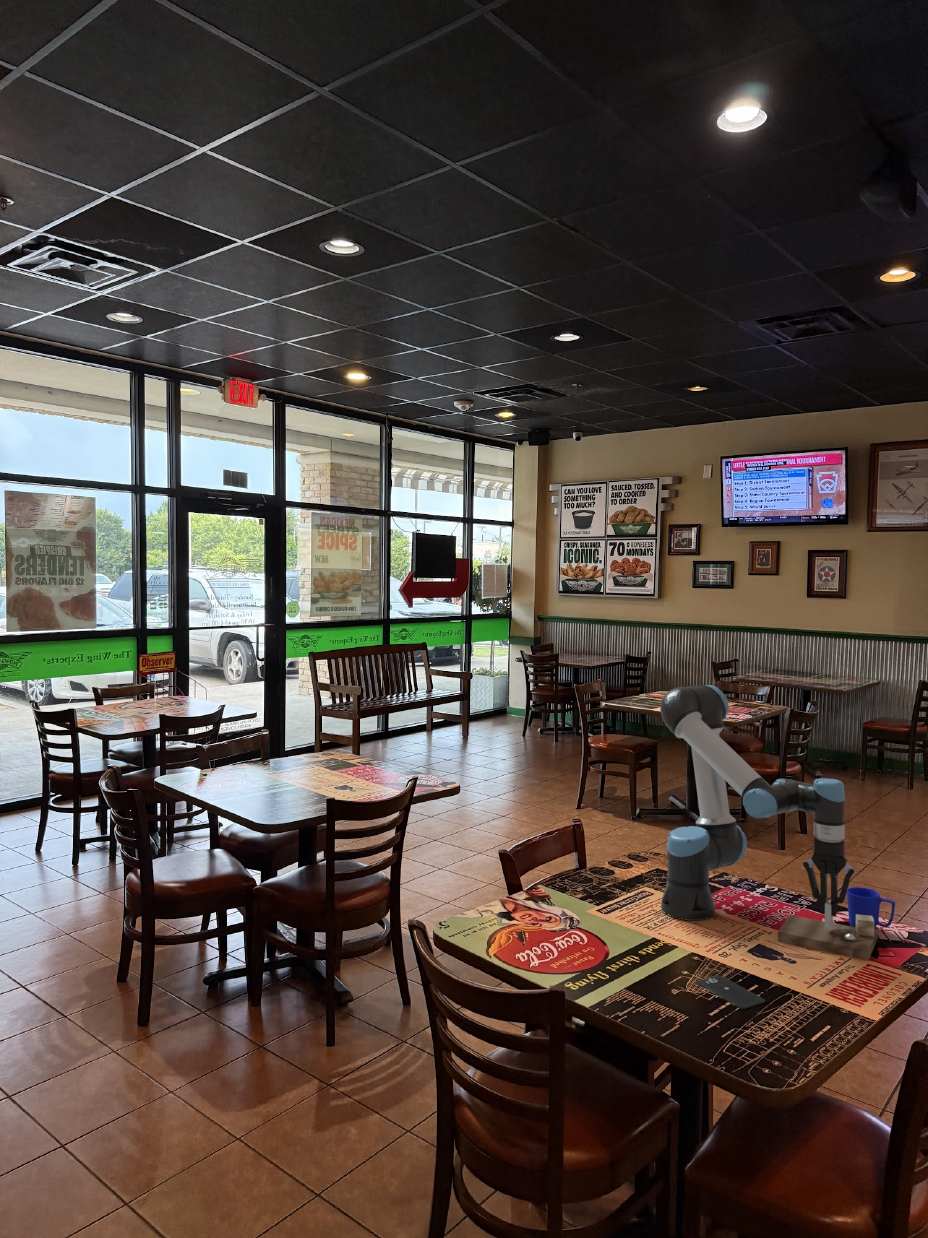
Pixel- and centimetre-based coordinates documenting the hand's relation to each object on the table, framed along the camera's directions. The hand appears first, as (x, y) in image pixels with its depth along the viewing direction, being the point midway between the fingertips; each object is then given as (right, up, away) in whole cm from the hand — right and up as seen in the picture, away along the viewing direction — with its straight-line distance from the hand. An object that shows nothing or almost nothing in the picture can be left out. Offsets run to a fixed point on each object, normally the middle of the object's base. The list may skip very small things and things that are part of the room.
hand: (828, 927), depth 225 cm
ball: (+4, -2, -3) cm, 6 cm away
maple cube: (+9, -1, 0) cm, 9 cm away
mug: (+15, -4, +8) cm, 17 cm away
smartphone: (-35, -6, -28) cm, 45 cm away
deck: (0, -4, +1) cm, 4 cm away
